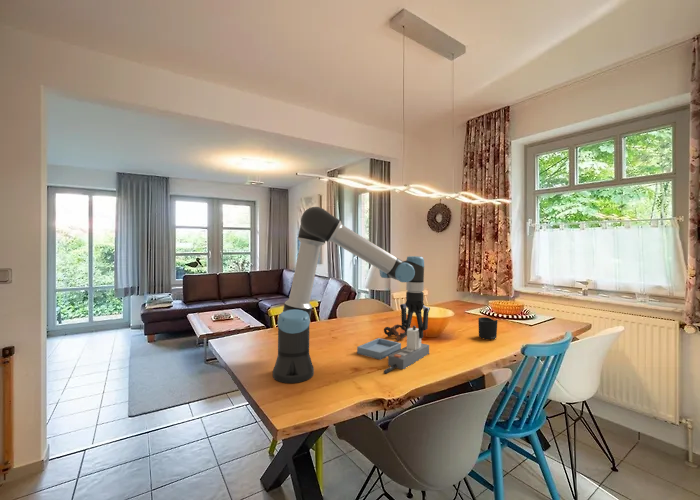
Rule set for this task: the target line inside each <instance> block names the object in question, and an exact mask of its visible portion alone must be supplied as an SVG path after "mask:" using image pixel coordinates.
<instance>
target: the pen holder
mask: <svg viewBox="0 0 700 500" xmlns="http://www.w3.org/2000/svg"><path fill="white" fill-rule="evenodd" d="M477 319H478V320H477V321H478V337H479V338H480V337H481V338H480V339H482V338H484V339H483V340H486V339H495V338H496V339H497V335H498V319H495V320H494V319H493V318H491V317H488V316H487V317H485V316H482V317H478V318H477ZM496 339H495V340H496Z"/></svg>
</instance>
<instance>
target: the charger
mask: <svg viewBox="0 0 700 500" xmlns="http://www.w3.org/2000/svg"><path fill="white" fill-rule="evenodd" d="M410 328H411V329H409V330H407V335H406V346H407V349H411V350H417V349H419V348H420V347H421V345H420V346H417V331H418V330H419V329H418V327H417V326H416V325H412V327H410Z"/></svg>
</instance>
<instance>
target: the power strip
mask: <svg viewBox="0 0 700 500" xmlns="http://www.w3.org/2000/svg"><path fill="white" fill-rule="evenodd" d="M427 354H428V355H430V345H429V344H427V343H422V342H421V347H420V348H419V349H417V350H411V349H407V345H406V346H405V347H403V348H402V347H401V349H400V350H398V351H396V352H395V353H393V354H391V355H389V356H387V357H388V358H387V365H388V367H387V368H386V369H384V370H383V373H384V374H386V375H387V374H388V373H389V372H391V371H393V370H395V369H399V370H402V369H404V370H406V369H407V368H409V367H411V366H412V365H413V364H415V363H416V361H417V362H419V361H420V360H422V359H423V358H424V356H425V357H426V356H428V355H427ZM419 359H420V360H419ZM414 362H415V363H414ZM411 364H412V365H411ZM408 366H409V367H408ZM406 367H407V368H406Z"/></svg>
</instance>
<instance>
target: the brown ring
mask: <svg viewBox="0 0 700 500" xmlns="http://www.w3.org/2000/svg"><path fill="white" fill-rule="evenodd" d="M397 329H400V330H403V331H404V332H400V333H399V331H397ZM383 333H384V334H385V335H386V336H387V338H391V336H395V337H396V338H395V341H396V342H398V341H400V340H403V339H406V338H407V335H406V328H405V327H404V326H402V324H398V323H397V324H394V325H393V326H392V327H390V326H385V327H384V328H383Z"/></svg>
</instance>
